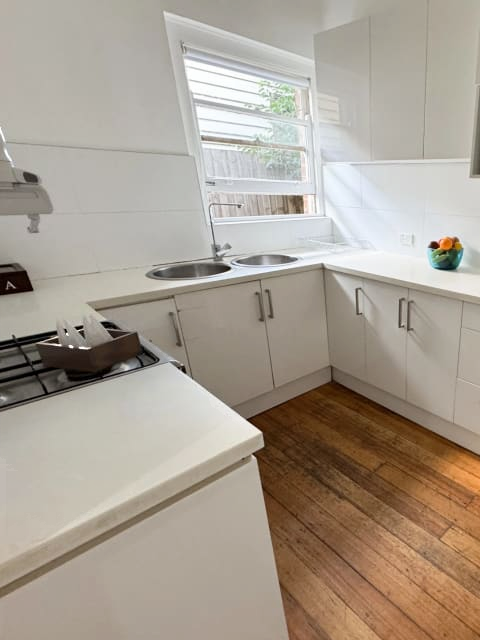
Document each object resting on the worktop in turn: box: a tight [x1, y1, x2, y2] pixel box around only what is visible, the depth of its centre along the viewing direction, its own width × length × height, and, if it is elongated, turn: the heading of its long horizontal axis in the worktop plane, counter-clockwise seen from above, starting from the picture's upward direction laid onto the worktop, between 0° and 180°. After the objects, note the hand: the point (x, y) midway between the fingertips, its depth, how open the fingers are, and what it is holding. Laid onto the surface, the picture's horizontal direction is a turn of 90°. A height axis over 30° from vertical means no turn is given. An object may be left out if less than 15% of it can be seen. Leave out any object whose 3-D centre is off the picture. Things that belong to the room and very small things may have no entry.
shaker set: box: [55, 312, 113, 348], centre depth 93 cm, size 12×4×11 cm, turn 91°
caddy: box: [34, 328, 144, 373], centre depth 94 cm, size 13×16×6 cm
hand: (12, 234), depth 95 cm, fingers open, 8 cm apart
